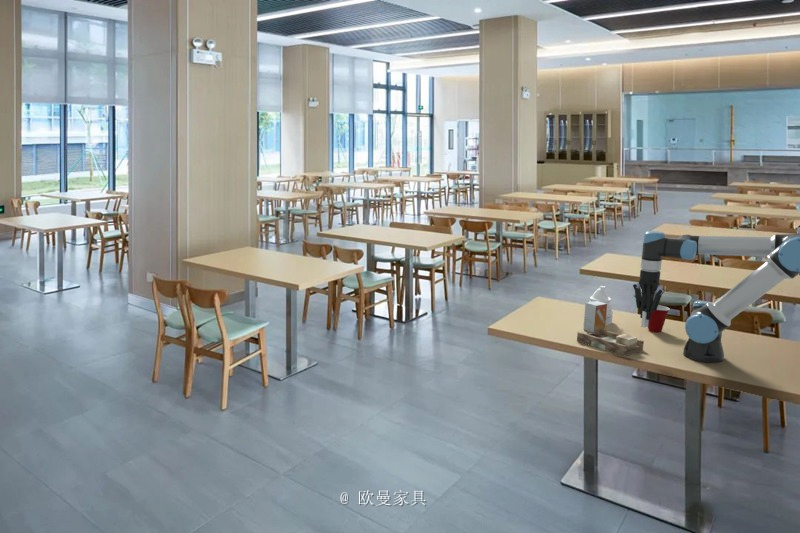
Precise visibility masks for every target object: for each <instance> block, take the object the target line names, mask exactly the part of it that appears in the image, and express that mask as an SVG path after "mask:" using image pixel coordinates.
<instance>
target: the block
mask: <svg viewBox="0 0 800 533" xmlns="http://www.w3.org/2000/svg"><path fill="white" fill-rule="evenodd" d="M637 339H638V337H637V336H635V335H629V334H627V333H624V334H620V335H619V336H616V343H618V344H622V345H625V346H627V349H630V348H633V347H636V346H637Z"/></svg>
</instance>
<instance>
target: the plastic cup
mask: <svg viewBox="0 0 800 533" xmlns="http://www.w3.org/2000/svg"><path fill="white" fill-rule="evenodd" d="M670 310H671V308H669V307H667V306H665V305H660V304H658V307H657V310H656V311H653V312H651V319H650V320H649V322H648V327H647V330H648V332H651V333H654V334H656V333H660V334H661V333H662V331H663V328H664V326H665V321H666V319H667V316H668V313H669V311H670Z"/></svg>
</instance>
